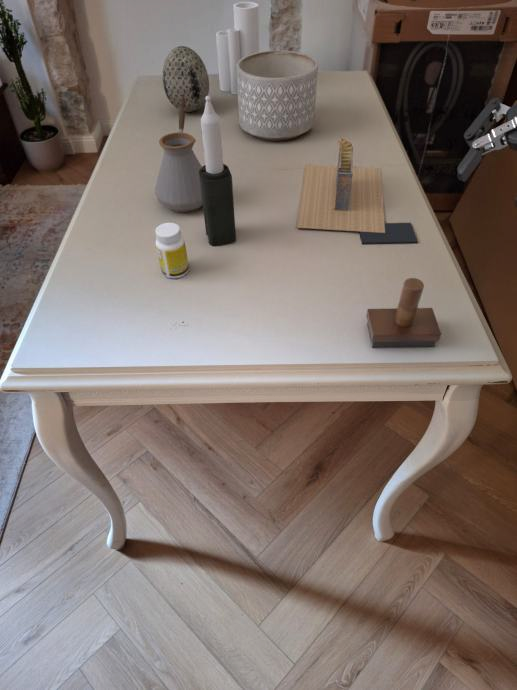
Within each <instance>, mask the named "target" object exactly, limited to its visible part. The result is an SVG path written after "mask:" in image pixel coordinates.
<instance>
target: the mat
mask: <svg viewBox="0 0 517 690" xmlns="http://www.w3.org/2000/svg"><path fill="white" fill-rule="evenodd" d="M384 225H385V233H379V232H362V231H358V232H359V237H360V241H361V245H390V244H391V245H394V244H396V245H397V244H400V245H401V244H418V242H419V241H418V238H417V235H416V232H415V230H414V228H413V225H412V222H384Z"/></svg>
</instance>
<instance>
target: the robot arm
mask: <svg viewBox="0 0 517 690" xmlns="http://www.w3.org/2000/svg"><path fill="white" fill-rule="evenodd" d="M504 118H505V119H504ZM501 119H504V121H505V122H504V123H502V124H500V125H498V126H496V127H495V128H493V129H491V127H492V126H493V124H494V123H498V122H499V121H500V120H501ZM490 129H491V130H490ZM489 130H490V131H489ZM488 131H489V132H488ZM487 132H488V133H487ZM463 138H464V140H465V142H466V144H467V146H468V148H469V150H468V151H467V152H466V155H464V157H463V158H462V160H461V161H460V163H459V164H458V165H457V168H456V171H457V173H456V176H457V179H458V180H459V181H461V182H467V180H468V179H469V178H470V176H471V175H472V173H473V172H474V170H476V168H477V167H478V165H479V164H480V162H481V161H482V160H483V157H482V156H485V155H487V154H489V153H492V152H493V151H499V150H502V149H504V148H506V147H509V149H510V150H512V151H515V152H517V102H516V103H515V104H514V105H511V106H508V105H506V104H503V103H502V102H501V100H500V98H499V97H497V96H495V97H493V98H491V99H490V100H489V101H488V103H487V104H486V105H485V106H484V108H483V109H482V111H481V112H480V113H479V114H478V115H477V117H476V118H475V119H474V120H473V122H472V123H471V124H470V126H469V127H468V128H467V129H466V131H465V132H464V133H463ZM513 203H514V206H515V207H516V208H517V197H515V199H514V201H513Z"/></svg>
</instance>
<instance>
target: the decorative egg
mask: <svg viewBox="0 0 517 690" xmlns="http://www.w3.org/2000/svg"><path fill="white" fill-rule="evenodd" d="M208 73H209V72H208V69H207V67H206V65H205V62H204V61H203V59H202V58H201V56H200V55H199V53H197V52H196V51H195V50H194V49H192V48H190V47H188V46H186V45H185V46H184V45H180V46H177V47H174V48H172V49H171V50H170V52H169V53H168V54H167V55H166V58H165V60H164V63H163V67H162V86H163V90H164V94H165V96H166V97H167V98H166V99H168V101H169V102H170V104H171V105H172V106H174V108H176V109H177V110H179V111H180V106H179V104H180V103H181V99H179V98H181V97H182V96H184V97H186V98H188V99H189V100H190V101H189V100H188V99H186V98H185V102H184V104H186V103H188V102H189V103H188V104H186V107H185V108H184V110H185V113H186V112H187V113H192V112H195V111H197V110H199V109H200V108H202V107H203V106H204V104H206V100H205V98H206V96H209V93H210V79H209V74H208ZM178 100H179V102H180V103H179V102H178Z"/></svg>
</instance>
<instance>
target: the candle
mask: <svg viewBox="0 0 517 690" xmlns="http://www.w3.org/2000/svg"><path fill="white" fill-rule="evenodd" d="M205 100H206V101H205V105H204V111H203V114H202V116H201V117H200V125H201V126H200V127H201V137H202V146H203V156H204V165H203V166H202V168H201V169H200V170H199V178H200V186H201V194H202V203H203V205H202V209H203V211H202V212H203V218H204V226H205V227H204V228H205V235H206V236H207V240H208V245H210V246H212V247H219V246H225V245H231V244H234V243H235V242H236V241H237V234H236V233H237V232H236V231H237V230H236V218H235V204H234V189H233V188H234V187H233V175H232V172H231V171H230V168H229V166H228V165H227V164H226V163H224V158H223V156H224V155H223V145H222V133H221V132H222V131H221V120H220V119H221V118H220V117H219V115H218V114H217V113H216V111H215V109H214V106H213V104H212V97H211V96H210V95H208V96H206V98H205Z"/></svg>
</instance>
